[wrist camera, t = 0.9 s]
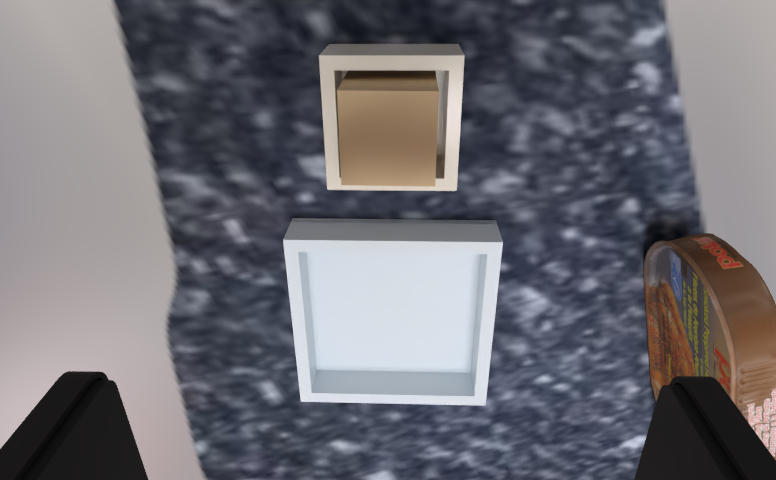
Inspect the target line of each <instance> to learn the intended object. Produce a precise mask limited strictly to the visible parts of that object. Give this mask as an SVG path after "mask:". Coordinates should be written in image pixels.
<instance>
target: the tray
mask: <svg viewBox="0 0 776 480" xmlns="http://www.w3.org/2000/svg"><path fill="white" fill-rule="evenodd" d="M283 243H284V252H285V261H286V271H287V280H288V289H289V298H290V307H291V316H292V325H293V334H294V343H295V352H296V361H297V370H298V380H299V389H300V398H301V402H345V403H392V404H439V405H485V404H486V395H487V386H488V376H489V367H490V358H491V348H492V339H493V330H494V320H495V311H496V302H497V292H498V283H499V274H500V264H501V255H502V246H503V241H502V238H501V235H500V232H499V229H498V226H497V222H496V220H427V219H327V218H292V221H291V223H290V225H289V227H288V230H287V232H286V234H285V237H284V239H283Z"/></svg>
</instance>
